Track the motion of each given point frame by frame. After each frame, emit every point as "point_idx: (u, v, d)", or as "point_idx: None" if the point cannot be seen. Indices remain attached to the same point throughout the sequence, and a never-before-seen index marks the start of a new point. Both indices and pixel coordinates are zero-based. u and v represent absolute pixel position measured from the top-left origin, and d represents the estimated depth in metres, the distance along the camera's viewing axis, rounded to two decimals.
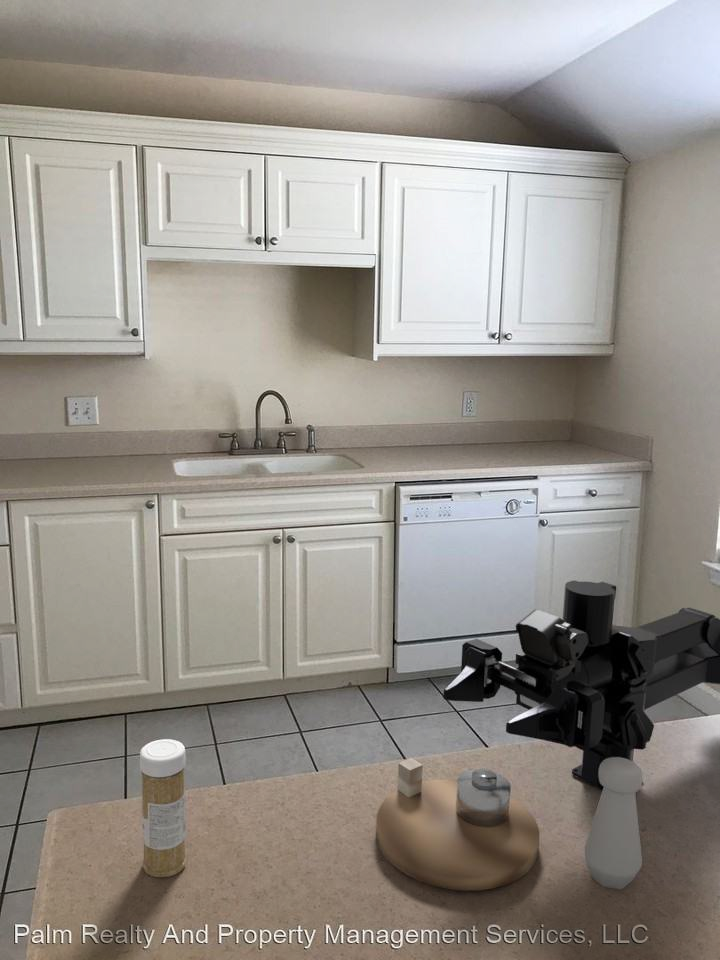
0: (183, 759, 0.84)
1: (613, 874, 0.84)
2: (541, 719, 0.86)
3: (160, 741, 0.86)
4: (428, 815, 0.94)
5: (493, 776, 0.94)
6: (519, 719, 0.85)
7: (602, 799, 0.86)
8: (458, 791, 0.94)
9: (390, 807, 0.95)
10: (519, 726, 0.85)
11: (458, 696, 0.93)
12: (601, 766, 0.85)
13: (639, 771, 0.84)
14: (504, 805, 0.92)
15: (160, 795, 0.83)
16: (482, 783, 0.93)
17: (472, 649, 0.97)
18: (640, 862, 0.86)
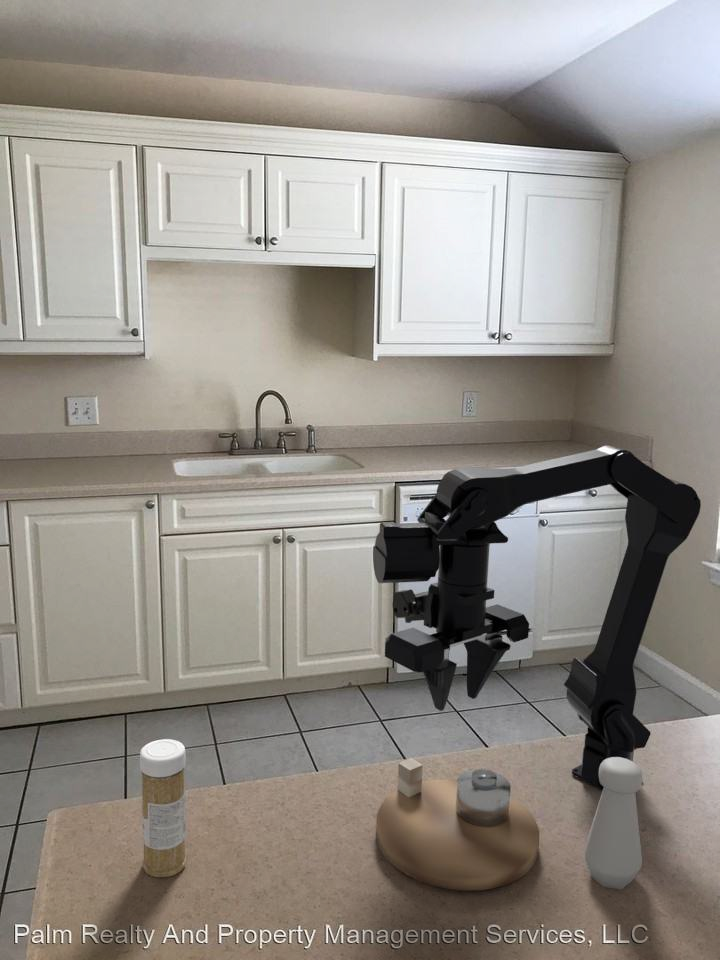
0: (183, 759, 0.84)
1: (613, 874, 0.84)
2: (432, 680, 0.97)
3: (160, 741, 0.86)
4: (428, 815, 0.94)
5: (493, 776, 0.94)
6: (432, 697, 0.98)
7: (602, 799, 0.86)
8: (458, 791, 0.94)
9: (390, 807, 0.95)
10: (436, 700, 0.97)
11: (476, 683, 1.00)
12: (601, 767, 0.85)
13: (639, 771, 0.84)
14: (504, 805, 0.92)
15: (160, 795, 0.83)
16: (482, 783, 0.93)
17: None
18: (640, 862, 0.86)
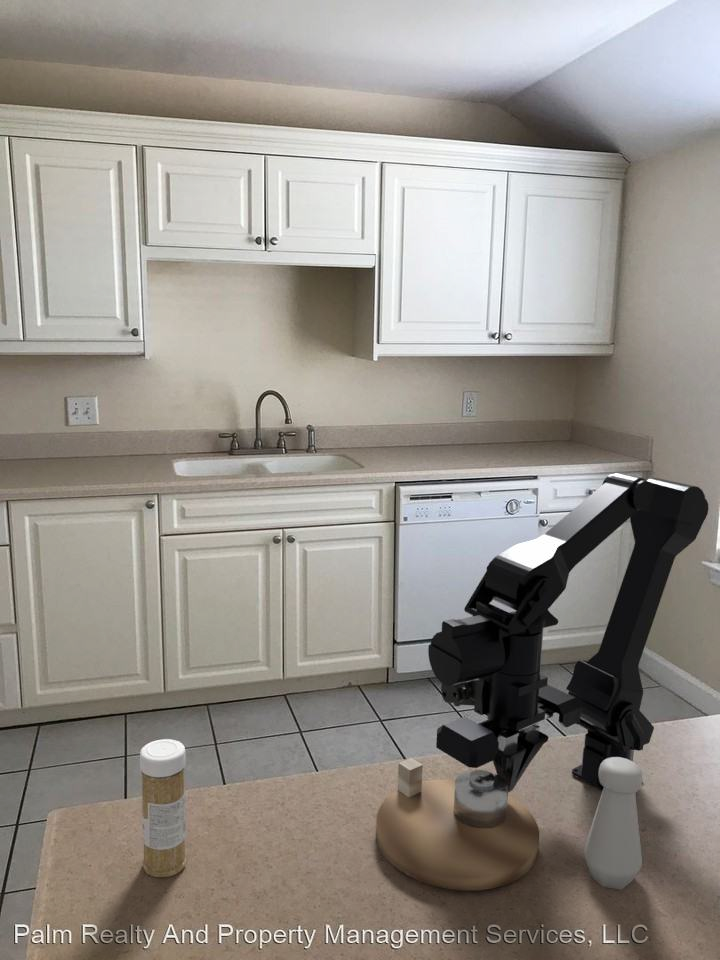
0: (183, 759, 0.84)
1: (613, 874, 0.84)
2: (499, 762, 0.96)
3: (160, 741, 0.86)
4: (428, 815, 0.94)
5: (491, 777, 0.94)
6: None
7: (602, 799, 0.86)
8: (456, 792, 0.93)
9: (390, 807, 0.95)
10: None
11: None
12: (601, 767, 0.85)
13: (639, 771, 0.84)
14: (501, 806, 0.92)
15: (160, 795, 0.83)
16: (479, 784, 0.93)
17: None
18: (640, 862, 0.86)
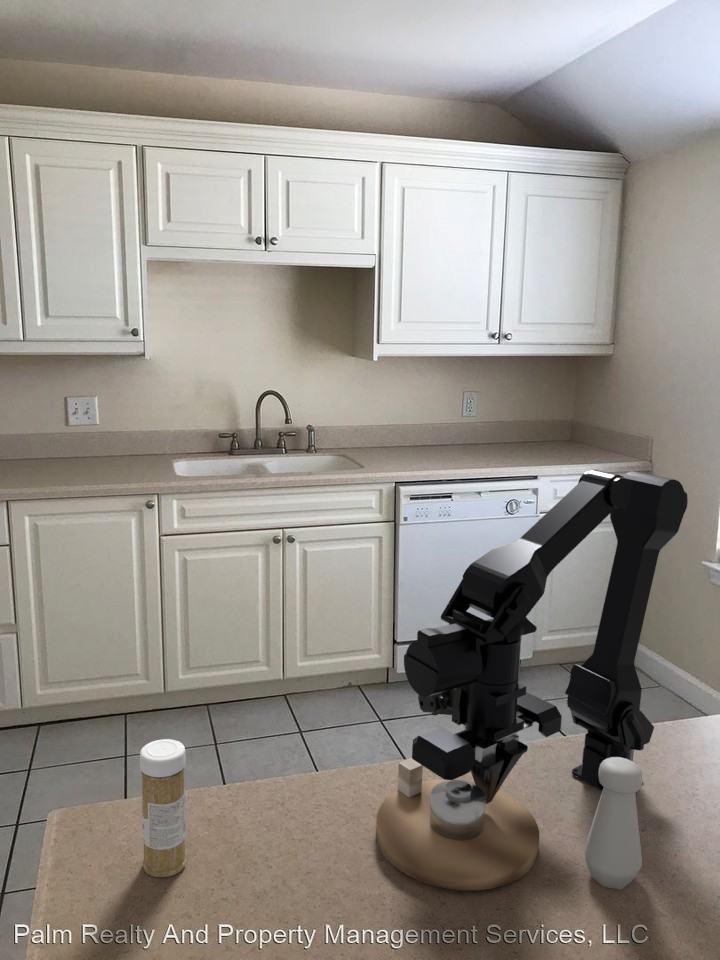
0: (183, 759, 0.84)
1: (613, 874, 0.84)
2: (477, 773, 0.94)
3: (160, 741, 0.86)
4: (428, 815, 0.94)
5: (468, 788, 0.91)
6: None
7: (602, 799, 0.86)
8: (432, 803, 0.91)
9: (390, 807, 0.95)
10: None
11: None
12: (601, 767, 0.85)
13: (639, 771, 0.84)
14: (478, 818, 0.90)
15: (160, 795, 0.83)
16: (456, 795, 0.90)
17: None
18: (640, 862, 0.86)
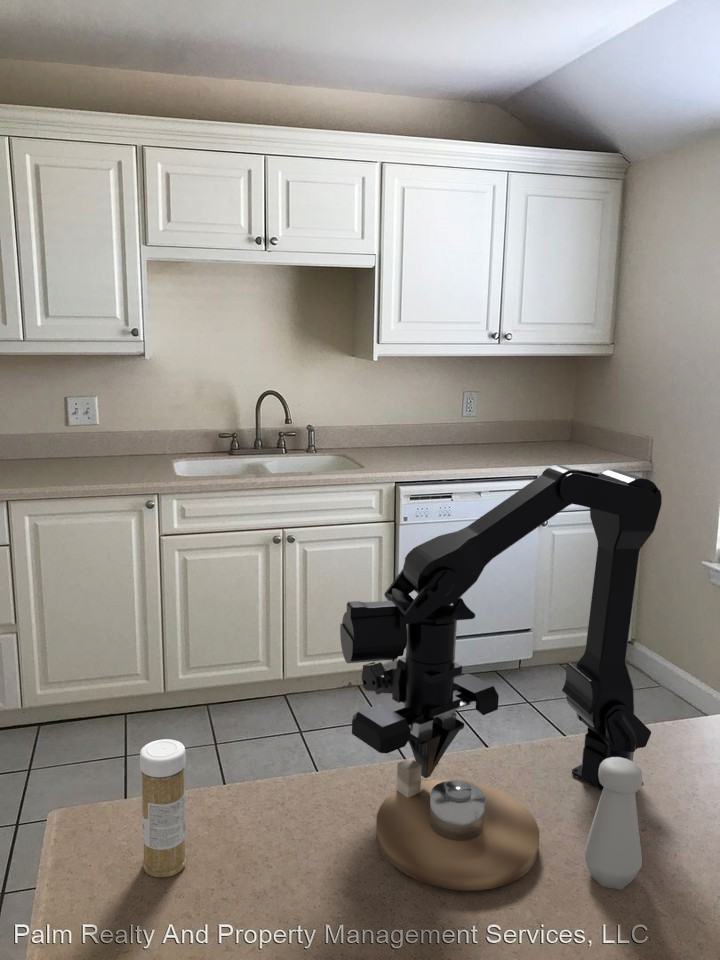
0: (183, 759, 0.84)
1: (613, 874, 0.84)
2: (416, 748, 0.98)
3: (160, 741, 0.86)
4: (427, 815, 0.94)
5: (467, 788, 0.91)
6: None
7: (602, 799, 0.86)
8: (431, 804, 0.91)
9: (390, 808, 0.95)
10: (421, 768, 0.99)
11: None
12: (601, 766, 0.85)
13: (639, 771, 0.84)
14: (478, 818, 0.90)
15: (160, 795, 0.83)
16: (455, 795, 0.90)
17: None
18: (640, 862, 0.86)
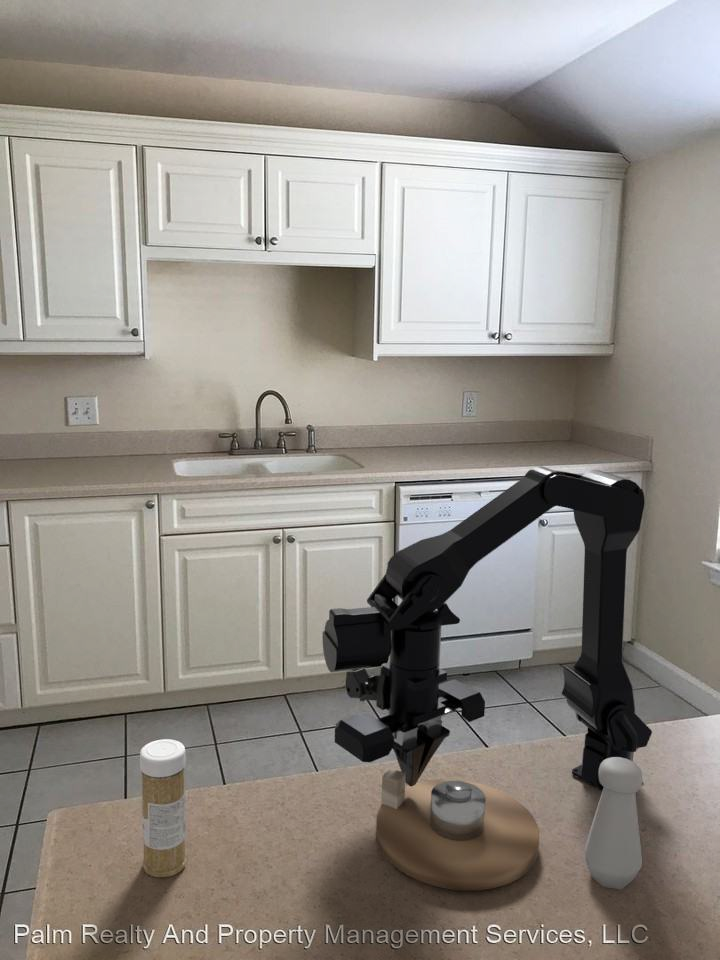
0: (183, 759, 0.84)
1: (613, 874, 0.84)
2: (401, 756, 0.96)
3: (160, 741, 0.86)
4: (426, 822, 0.93)
5: (467, 786, 0.92)
6: None
7: (602, 799, 0.86)
8: (437, 809, 0.90)
9: (387, 823, 0.92)
10: (406, 776, 0.97)
11: None
12: (601, 767, 0.85)
13: (639, 771, 0.84)
14: (483, 813, 0.91)
15: (160, 795, 0.83)
16: (461, 796, 0.90)
17: None
18: (640, 862, 0.86)
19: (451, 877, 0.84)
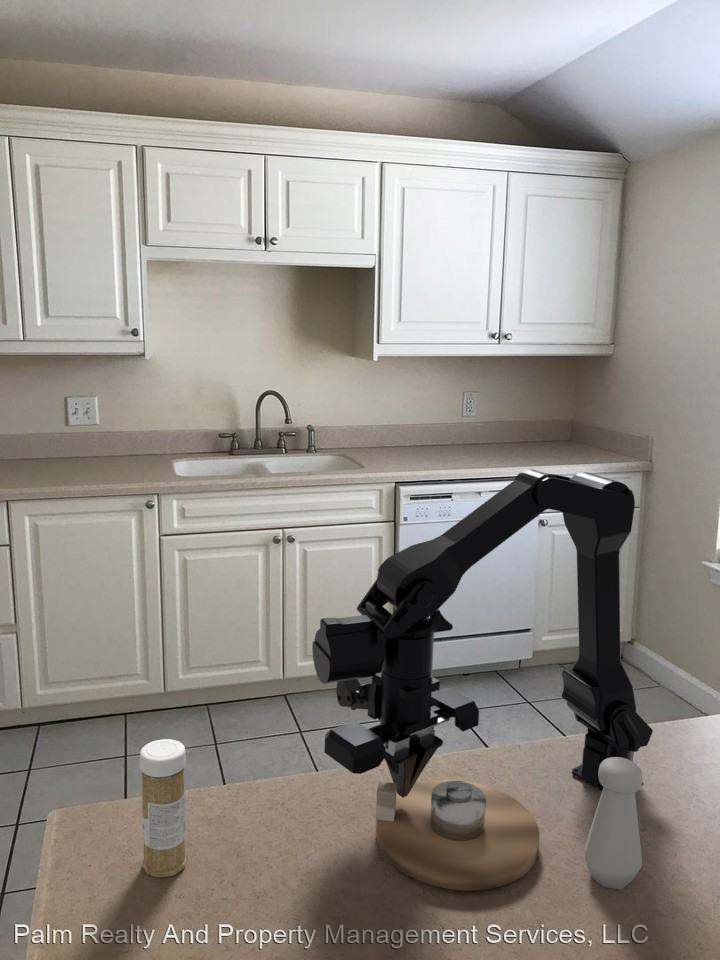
0: (183, 759, 0.84)
1: (613, 874, 0.84)
2: (393, 767, 0.94)
3: (160, 741, 0.86)
4: (428, 828, 0.91)
5: (466, 784, 0.92)
6: None
7: (602, 799, 0.86)
8: (445, 814, 0.89)
9: (392, 838, 0.90)
10: (398, 787, 0.95)
11: None
12: (601, 767, 0.85)
13: (639, 771, 0.84)
14: (485, 808, 0.92)
15: (160, 795, 0.83)
16: (465, 795, 0.90)
17: None
18: (640, 862, 0.86)
19: (482, 878, 0.84)
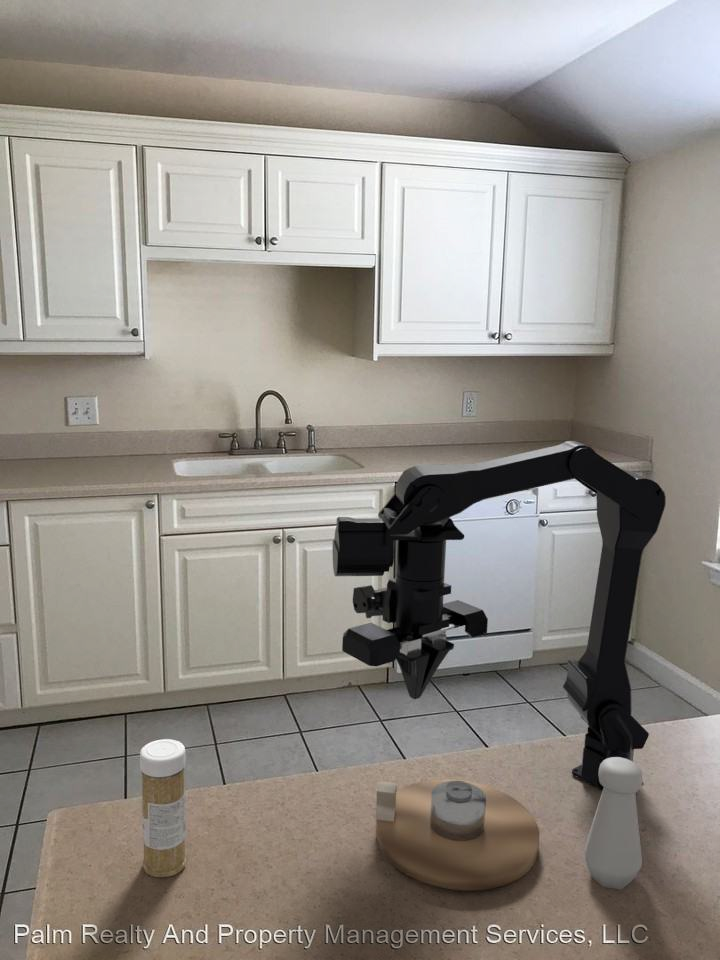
0: (183, 759, 0.84)
1: (613, 874, 0.84)
2: (406, 669, 0.99)
3: (160, 741, 0.86)
4: (428, 828, 0.91)
5: (466, 784, 0.92)
6: (406, 686, 1.01)
7: (602, 799, 0.86)
8: (445, 814, 0.89)
9: (393, 838, 0.90)
10: (410, 689, 1.00)
11: None
12: (601, 767, 0.85)
13: (639, 771, 0.84)
14: (485, 808, 0.92)
15: (160, 795, 0.83)
16: (465, 795, 0.90)
17: None
18: (640, 862, 0.86)
19: (482, 878, 0.84)
